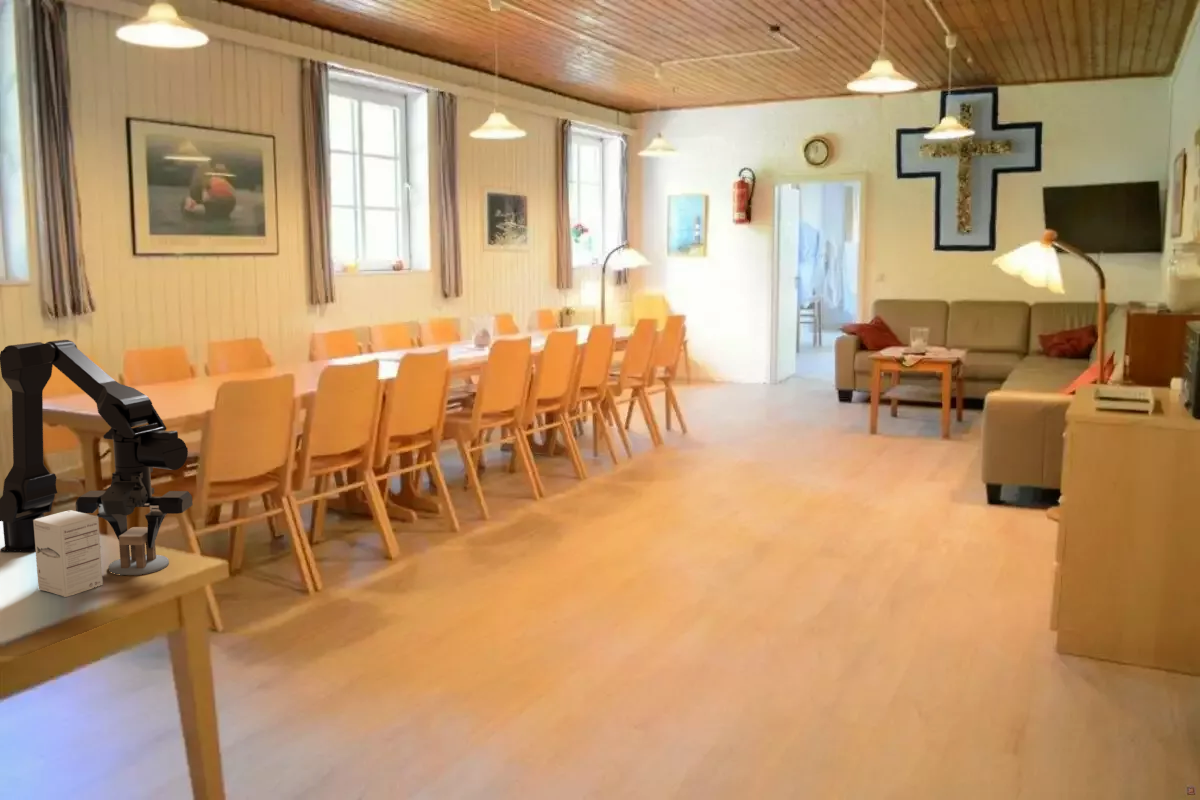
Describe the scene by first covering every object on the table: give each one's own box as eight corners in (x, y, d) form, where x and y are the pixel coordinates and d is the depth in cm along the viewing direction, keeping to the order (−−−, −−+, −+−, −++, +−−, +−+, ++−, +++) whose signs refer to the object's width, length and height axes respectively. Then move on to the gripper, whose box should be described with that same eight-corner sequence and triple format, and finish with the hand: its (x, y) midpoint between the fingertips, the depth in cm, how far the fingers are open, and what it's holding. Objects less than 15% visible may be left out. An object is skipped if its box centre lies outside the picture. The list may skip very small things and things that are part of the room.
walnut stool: (134, 558, 186) (132, 527, 185) (156, 558, 186) (154, 527, 185) (120, 568, 181) (118, 536, 180) (143, 568, 181) (141, 536, 180)
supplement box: (37, 590, 171) (31, 519, 169) (77, 577, 177) (71, 508, 175) (64, 598, 167) (58, 525, 165) (104, 585, 174) (99, 514, 172)
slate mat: (98, 575, 178) (98, 572, 178) (123, 557, 188) (122, 554, 188) (155, 575, 179) (155, 572, 179) (177, 557, 189) (177, 554, 188)
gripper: (57, 474, 172) (64, 561, 175) (167, 475, 173) (172, 562, 175) (87, 459, 183) (93, 542, 186) (191, 460, 184) (195, 542, 186)
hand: (137, 547), depth 183 cm, fingers open, 4 cm apart
